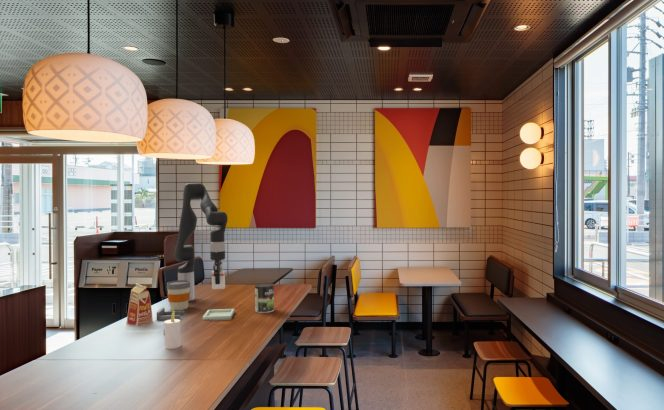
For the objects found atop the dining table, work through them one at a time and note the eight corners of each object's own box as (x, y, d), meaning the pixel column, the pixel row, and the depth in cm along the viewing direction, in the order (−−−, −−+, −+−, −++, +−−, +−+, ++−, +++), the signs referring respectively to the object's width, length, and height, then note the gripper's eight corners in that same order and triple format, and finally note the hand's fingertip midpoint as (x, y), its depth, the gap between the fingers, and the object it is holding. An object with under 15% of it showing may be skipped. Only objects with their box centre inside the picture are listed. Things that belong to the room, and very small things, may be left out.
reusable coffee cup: (194, 306, 244) (194, 280, 244) (185, 312, 232) (184, 284, 232) (173, 306, 246) (173, 280, 245) (162, 311, 233) (162, 284, 233)
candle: (164, 344, 180) (163, 309, 180) (180, 342, 182) (179, 307, 182) (163, 349, 174) (163, 313, 174) (180, 347, 177) (180, 311, 176)
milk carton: (126, 325, 210) (125, 284, 209) (142, 320, 218) (141, 281, 218) (138, 327, 206) (137, 285, 205) (154, 322, 214) (153, 282, 213)
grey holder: (161, 316, 225) (161, 307, 225) (187, 315, 226) (186, 306, 226) (155, 322, 214) (154, 312, 214) (181, 321, 215) (181, 311, 215)
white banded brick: (213, 287, 224) (212, 270, 224) (225, 287, 224) (224, 270, 224) (211, 289, 220) (211, 271, 220) (223, 288, 220) (223, 271, 220)
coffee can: (278, 310, 233) (277, 284, 233) (264, 314, 225) (263, 287, 225) (265, 307, 240) (264, 282, 239) (251, 311, 231) (250, 285, 231)
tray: (207, 313, 229) (207, 309, 229) (234, 312, 230) (234, 308, 230) (202, 321, 215) (202, 317, 215) (230, 319, 216) (230, 315, 216)
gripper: (212, 248, 228) (213, 280, 229) (207, 252, 214) (208, 286, 215) (227, 248, 229) (227, 280, 229) (222, 251, 215) (223, 285, 215)
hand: (218, 283), depth 222 cm, fingers closed on white banded brick, 4 cm apart
